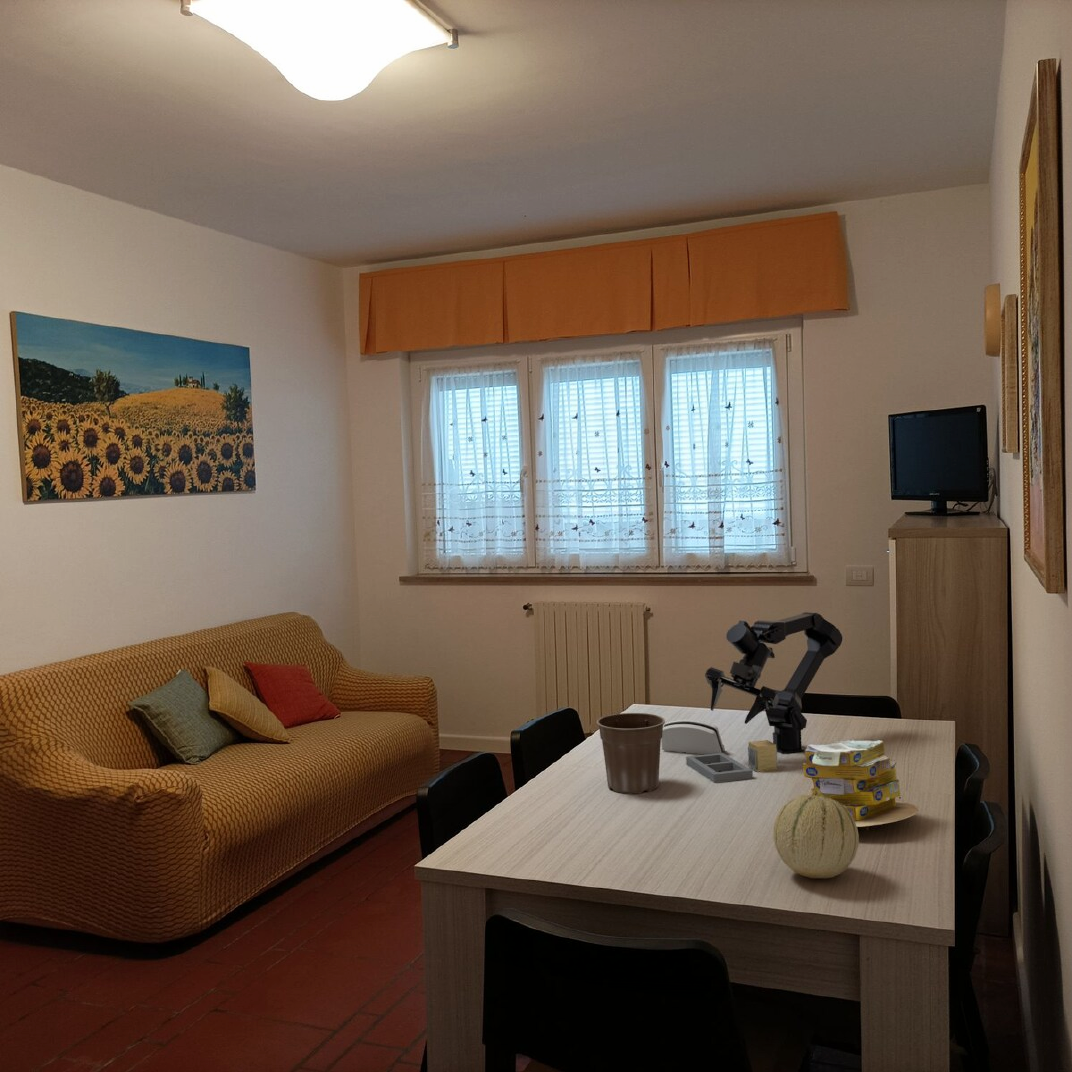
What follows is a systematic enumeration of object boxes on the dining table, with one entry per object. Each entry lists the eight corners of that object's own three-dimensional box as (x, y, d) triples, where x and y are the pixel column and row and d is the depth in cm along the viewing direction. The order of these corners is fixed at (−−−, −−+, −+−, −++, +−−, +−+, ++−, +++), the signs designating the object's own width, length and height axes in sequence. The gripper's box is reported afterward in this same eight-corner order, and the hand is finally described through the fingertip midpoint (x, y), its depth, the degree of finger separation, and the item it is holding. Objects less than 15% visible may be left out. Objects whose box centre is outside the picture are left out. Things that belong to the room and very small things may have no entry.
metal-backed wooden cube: (769, 765, 259) (768, 739, 258) (778, 770, 254) (777, 744, 254) (747, 767, 257) (747, 742, 257) (756, 772, 252) (755, 746, 252)
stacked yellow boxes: (769, 818, 217) (766, 740, 217) (852, 797, 230) (849, 723, 229) (858, 851, 196) (856, 765, 195) (945, 825, 208) (942, 744, 208)
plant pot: (664, 797, 235) (662, 728, 235) (595, 796, 238) (592, 727, 238) (669, 777, 251) (667, 712, 250) (604, 777, 254) (601, 712, 254)
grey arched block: (726, 750, 274) (721, 718, 271) (721, 760, 270) (716, 728, 267) (667, 746, 282) (661, 715, 279) (661, 756, 278) (656, 724, 275)
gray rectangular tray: (722, 760, 265) (722, 752, 265) (752, 778, 247) (752, 770, 247) (686, 764, 263) (686, 756, 263) (714, 782, 245) (713, 774, 245)
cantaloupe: (778, 891, 178) (775, 805, 178) (772, 860, 193) (769, 782, 192) (866, 892, 176) (863, 806, 175) (853, 861, 190) (850, 782, 190)
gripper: (714, 638, 261) (689, 690, 256) (784, 662, 252) (759, 717, 247) (720, 657, 270) (696, 708, 264) (788, 681, 261) (764, 734, 256)
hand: (728, 716), depth 258 cm, fingers open, 9 cm apart
